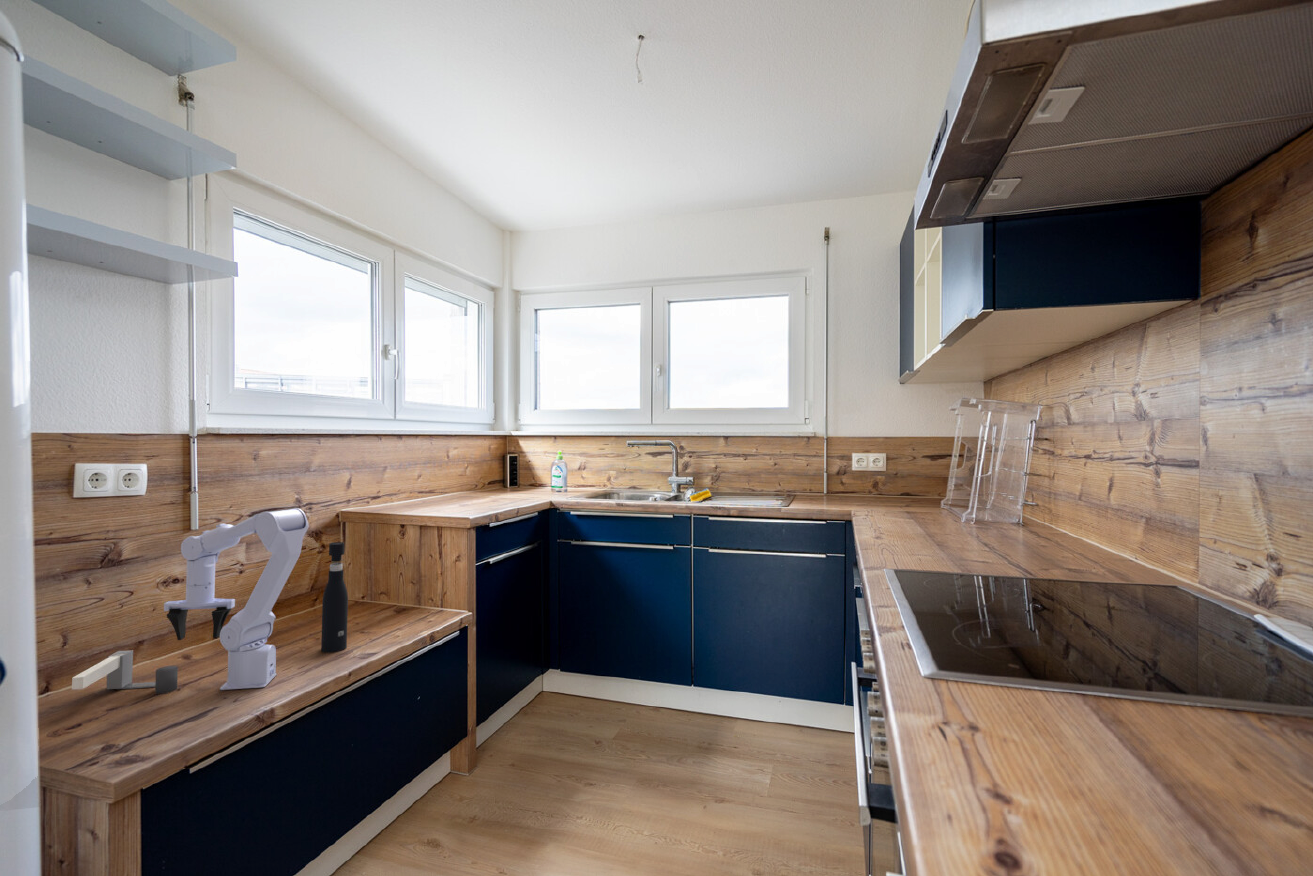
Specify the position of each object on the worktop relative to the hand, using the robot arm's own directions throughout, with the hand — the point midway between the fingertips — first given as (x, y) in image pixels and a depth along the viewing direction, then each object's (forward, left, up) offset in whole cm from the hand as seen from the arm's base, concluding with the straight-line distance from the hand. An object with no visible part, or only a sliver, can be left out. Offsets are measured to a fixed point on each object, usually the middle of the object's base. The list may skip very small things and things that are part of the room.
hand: (199, 638), depth 149 cm
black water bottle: (-27, -15, -10) cm, 32 cm away
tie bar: (+14, +10, -9) cm, 20 cm away
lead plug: (+3, +8, -10) cm, 13 cm away
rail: (+9, +5, -9) cm, 13 cm away
